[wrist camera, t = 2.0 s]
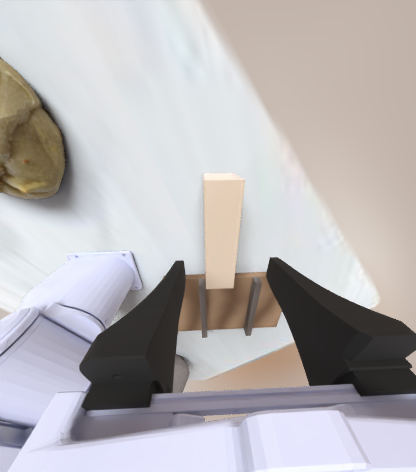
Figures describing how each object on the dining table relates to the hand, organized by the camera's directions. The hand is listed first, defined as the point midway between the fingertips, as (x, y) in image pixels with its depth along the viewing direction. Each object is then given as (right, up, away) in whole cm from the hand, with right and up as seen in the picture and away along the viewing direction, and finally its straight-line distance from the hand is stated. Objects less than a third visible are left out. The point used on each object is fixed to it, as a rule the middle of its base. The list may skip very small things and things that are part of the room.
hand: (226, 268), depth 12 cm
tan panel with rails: (+2, -10, +16) cm, 20 cm away
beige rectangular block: (0, +5, +8) cm, 10 cm away
